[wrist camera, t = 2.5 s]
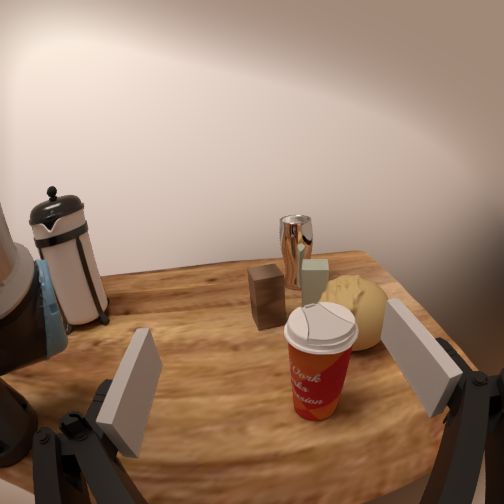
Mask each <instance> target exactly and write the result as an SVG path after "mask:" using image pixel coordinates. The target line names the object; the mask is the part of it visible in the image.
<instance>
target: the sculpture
mask: <svg viewBox="0 0 504 504" xmlns="http://www.w3.org/2000/svg"><path fill="white" fill-rule="evenodd" d="M387 300H388V297H387V295H386V294H385V292H384V291H383V290H382V289H381V288H380V287H379V286H378V285H377V284H375V283H373V282H371V281H368V280H364V279H362V278H361V277H360V276H359V275H355V276H351V275H350V276H349V275H343V276H340V277H338V278H336V279H334V280H330V281H329V282H328V283H327V287H326V291H325V292H323V293H322V295H321V299H320V300H319V302H330V303H335V304H339V305H341V306H344V307H345V308H347V309H348V310H350V311H351V313H352V314H353V316H354V317H355V321H356V324H357V326H358V337H357V339H356V341H355V342H354V343H353V347H352V351H359V350H364V349H368V348H370V347H373V346H374V345H376V344H377V343H378V342H379V341H380V340H381V339H380V338H381V332H382V327H383V321H384V314H385V308H386V301H387Z"/></svg>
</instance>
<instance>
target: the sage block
mask: <svg viewBox="0 0 504 504" xmlns="http://www.w3.org/2000/svg"><path fill="white" fill-rule="evenodd" d="M328 278H329V268H328V259H303V262H302V307H304V306H305V305H309V304H313V303H314V304H317V303H318V302H319V300H320V299H321V295H322V293H323V292H325V291H326V287H327V283H328Z"/></svg>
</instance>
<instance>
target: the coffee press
mask: <svg viewBox="0 0 504 504" xmlns="http://www.w3.org/2000/svg"><path fill="white" fill-rule="evenodd" d="M56 193H57V190H56V188H55V187H53V186H51V187H49V188H48V190H47V194H48V196H49V197H51V198H49V200H48V201H45V202H43V203H40V204H39V205H37V206H35V207H34V208H33V210H32V211H31V214H30V220H29V224H30V225H31V227H32V230H33V233H34V241H35V245H36V247H37V248H38V251H39V255H40V259H41V260H46V261H47V263H48V266H49V271H50V275H51V280H52V284H53V289H54V292H55V296H56V300H57V304H58V308H59V311H60V314H61V316H62V319H63V325H64V328H65V331H66V329H67V323H69V327H68V331H67V332H66V334H70V333H71V330H72V327H73V325H79V324H85V323H88V322H90V321H93V320H95V319H98V320H99V321H100V322H101V323H102V324H103V325H106V324H107V323H108V322H109V319H108V317H107V316H106V315H105V313H104V311H105V310H106V308H107V304H109V299H108V298H106V295H105V291H104V288H103V285H102V282H101V278H100V275H99V272H98V269H97V265H96V262H95V258H94V254H93V250H92V246H91V243H90V238H89V234H88V225H87V221H86V220H85V217H84V211H83V209H84V204H83V203H81V201H80V199H79V198H78V197H77V196H74V195H66V196H61V197H57V196H55V195H56Z"/></svg>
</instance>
